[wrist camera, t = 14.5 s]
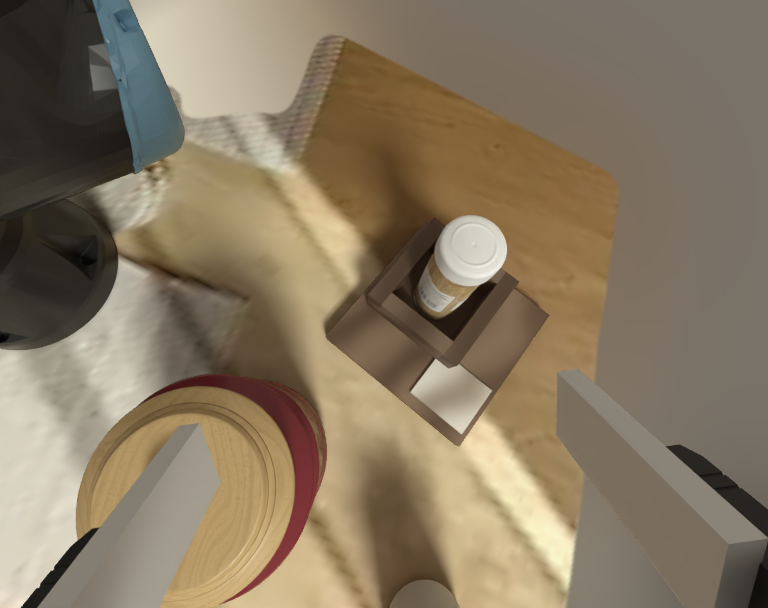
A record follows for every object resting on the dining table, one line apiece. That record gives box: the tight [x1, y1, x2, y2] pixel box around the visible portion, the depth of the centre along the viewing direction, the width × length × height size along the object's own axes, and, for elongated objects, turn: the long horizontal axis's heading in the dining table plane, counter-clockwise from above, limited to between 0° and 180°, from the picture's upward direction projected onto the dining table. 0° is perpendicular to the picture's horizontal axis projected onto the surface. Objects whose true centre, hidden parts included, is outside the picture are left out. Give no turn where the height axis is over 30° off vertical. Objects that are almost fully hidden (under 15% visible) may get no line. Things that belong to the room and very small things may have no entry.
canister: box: [76, 374, 327, 608], centre depth 25 cm, size 13×13×18 cm
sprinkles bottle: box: [413, 215, 507, 320], centre depth 30 cm, size 5×5×13 cm
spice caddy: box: [326, 218, 549, 446], centre depth 35 cm, size 16×16×5 cm
